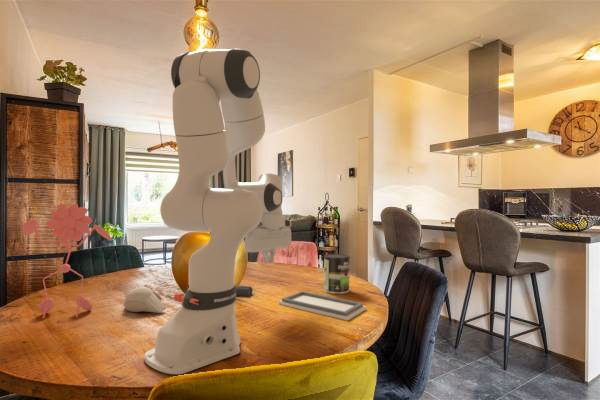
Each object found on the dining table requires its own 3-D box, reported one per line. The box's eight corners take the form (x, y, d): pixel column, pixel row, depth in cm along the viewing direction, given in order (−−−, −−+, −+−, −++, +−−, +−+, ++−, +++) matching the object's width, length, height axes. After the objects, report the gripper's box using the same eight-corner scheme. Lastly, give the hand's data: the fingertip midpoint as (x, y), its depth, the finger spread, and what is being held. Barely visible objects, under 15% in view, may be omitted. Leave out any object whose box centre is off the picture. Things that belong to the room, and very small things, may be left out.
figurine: (105, 318, 102) (106, 203, 102) (9, 323, 97) (9, 203, 97) (122, 303, 117) (123, 203, 117) (39, 307, 112) (40, 203, 112)
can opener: (206, 290, 133) (200, 293, 128) (208, 274, 133) (202, 277, 128) (252, 297, 129) (248, 300, 124) (254, 280, 129) (249, 284, 124)
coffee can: (354, 291, 134) (354, 255, 134) (337, 295, 127) (337, 258, 127) (335, 285, 142) (335, 252, 142) (318, 290, 135) (318, 255, 135)
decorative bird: (139, 304, 116) (141, 282, 116) (169, 313, 107) (171, 289, 108) (114, 309, 108) (116, 285, 109) (144, 319, 100) (146, 293, 100)
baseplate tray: (347, 320, 101) (347, 314, 101) (278, 304, 116) (278, 298, 116) (366, 309, 111) (366, 303, 111) (300, 295, 127) (300, 290, 127)
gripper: (254, 223, 103) (254, 268, 102) (294, 221, 119) (294, 260, 119) (240, 222, 106) (239, 266, 106) (280, 221, 123) (280, 258, 123)
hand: (268, 263), depth 113 cm, fingers closed
